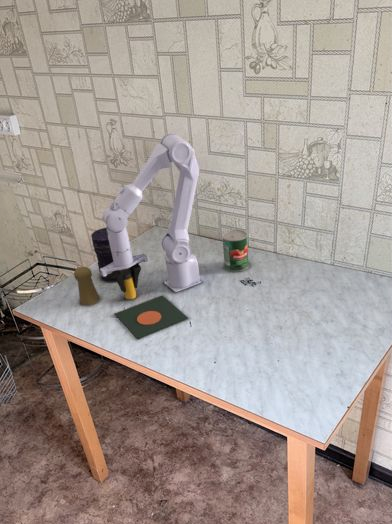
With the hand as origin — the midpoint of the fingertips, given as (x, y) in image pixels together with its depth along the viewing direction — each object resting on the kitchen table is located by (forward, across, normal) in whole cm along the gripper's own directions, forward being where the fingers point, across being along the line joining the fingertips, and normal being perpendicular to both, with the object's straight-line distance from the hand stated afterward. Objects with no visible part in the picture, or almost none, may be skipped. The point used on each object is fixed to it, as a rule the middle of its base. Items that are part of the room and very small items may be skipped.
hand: (129, 289), depth 156 cm
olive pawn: (+3, +11, -7) cm, 13 cm away
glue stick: (+3, 0, 0) cm, 3 cm away
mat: (+3, 0, +14) cm, 14 cm away
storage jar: (+3, -2, -17) cm, 17 cm away
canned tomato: (+3, -36, +5) cm, 36 cm away
